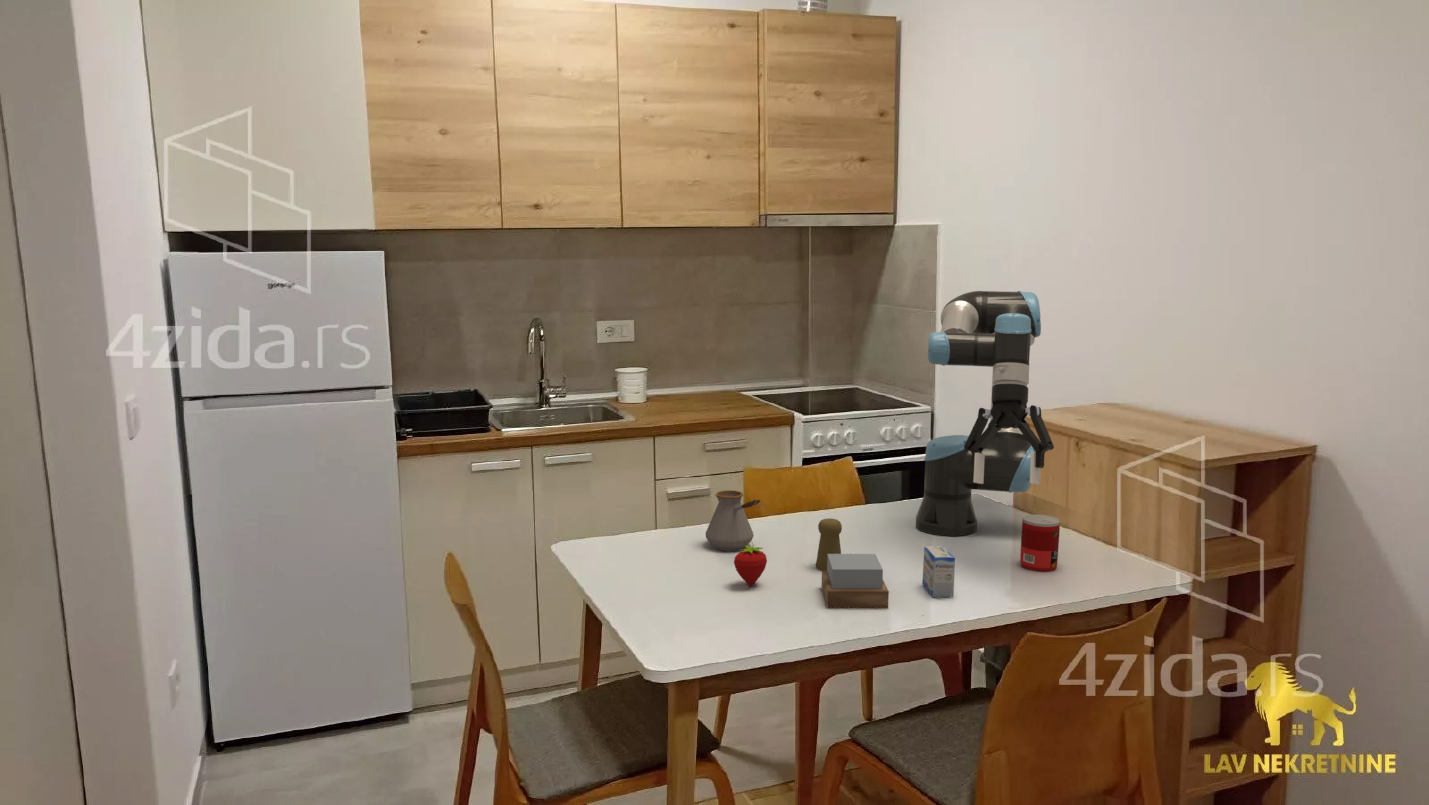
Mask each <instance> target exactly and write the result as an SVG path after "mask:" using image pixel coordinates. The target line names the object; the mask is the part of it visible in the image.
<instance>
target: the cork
mask: <svg viewBox="0 0 1429 805" xmlns="http://www.w3.org/2000/svg"><path fill="white" fill-rule="evenodd" d="M817 526H818V527H817V529H818V532H819V533H820V537H819V542H818V549H817V555H816V556H817V557H816V561H815V562H816V563H815V569H817V570H819V571H821V572H822V571H827V554H842V549H841V548H842V547H841V539H840V534H841V532H842V530H843V529H842V528H843V525H842V523H841V521H839V519H836V518H823V519H821V520H819V522H818V525H817Z"/></svg>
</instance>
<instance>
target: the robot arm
mask: <svg viewBox="0 0 1429 805" xmlns="http://www.w3.org/2000/svg"><path fill="white" fill-rule="evenodd" d="M1039 301H1040V300H1039V298H1038V295H1036V293H1034V292H1028V291H1021V290H1017V291H993V290H991V291H990V290H988V291H986V290H975V291H969V292H965V293H963V294H960V295H958V296H956V297H954V298H952V299H951V300H950V301H948V302H947V303H946V304H945V306H943V308H942V311H941V313H940V324H941V329H940V330H941V331H934V332H931V333H930V334H929V336H928V348H927V350H928V351H927V359H928V363H929V364H931V365H937V366H938V365H940V366H942V367H943V366H944V367H945V366H961V367H962V366H964V367H965V366H967V367H985V368H986V367H990V368H992V374H991V375H992V377H991V398H990V400H991V401H990V408H983V407H980V408H979V409H978V411H977V412H978V413H977V418H976V420H975V422H974V424H973V426H972V429H971V431H970V433H969V435H965V434H964V435H963V434H955V435H951V434H950V435H944V436H939V437H936V438H932V439H931V440H930V441H928V442H927V444H926V448H925V456H924V461H925V463H924V464H925V465H924V486H923V489H924V490H923V498H922V500H921V503H920V505H919V509H918V511H917V514H916V516H915V527H916V528H917V529H918V530H919V531H922V532H925V533H928V534H932V535H938V536H947V537H948V536H950V537H953V536H954V537H958V536H960V537H961V536H967V535H972V534H974V533H976V532H977V530H978V519H977V516H976V513H975V509H974V508H975V507H974V504H973V502H972V490H978V491H990V492H991V491H993V492H994V491H995V492H1004V493H1005V492H1006V493H1007V492H1008V493H1009V494H1010V493H1026V492H1028V491H1030V488H1031V486H1032V484H1033V485H1041V469H1044V467H1045V454H1046V452H1048V451H1052V450H1054V448H1055V446H1054V443H1053V440H1052V438H1051V437H1050V434H1049V431H1048V428H1047V426H1046V424H1045V422H1044V420H1043V417H1042V409H1041V407H1040V406H1037V405H1033V404H1031V405H1030V406H1029V407H1028V402H1029V387H1028V385H1029V384H1030V354H1031V346H1032V345H1034V343H1035V341H1036V340H1035V338H1037V337H1040V336H1041V333H1042V331H1041V330H1042V324H1041V322H1042V320H1041V309H1040V302H1039ZM1027 416H1029V417H1030V420H1031V422H1032V425H1033V427H1034V429H1035V431H1036V434H1037V435H1036V434H1035V432H1034V431H1033V430H1032V428H1031V426H1030V425H1029V423H1028V422H1027V420H1026V418H1027ZM989 420H990V421H989ZM988 422H989V423H988ZM986 426H987V427H986Z"/></svg>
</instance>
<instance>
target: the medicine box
mask: <svg viewBox="0 0 1429 805" xmlns="http://www.w3.org/2000/svg"><path fill="white" fill-rule="evenodd" d="M922 564H923V565H922V584H921V585H922V586H923V587H924V588H925V590H927V591H928V593H929V594H930V595H931V597H933V598H938V597H939V598H953V597H954V594H955V592H954V591H955V572H956V570H955V569H956V557H954V555H952V553H950V551H949V550H948V549H947V548H946V547H945V546H944V545H926V546H924V549H923V563H922Z"/></svg>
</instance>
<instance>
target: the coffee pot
mask: <svg viewBox="0 0 1429 805" xmlns="http://www.w3.org/2000/svg"><path fill="white" fill-rule="evenodd" d="M743 496H744V493H743V492H742V491H739V490H720V491H717V492H716V494H715V497H716V498H717V501H718V503H717V505H716V508H715V511H714V512H713V515H712V517H711V520H710V522H709V524H708V527H707V528H706V530H705V538H706V540H707V542H708V543H710V545H711V546H714V547H715V549H716V550H720V551H727V552H728V551H729V552H731V551H739V550H741V549H746V545H747V546H748V545H749V544H750V543H752V542H751V541H752V540H753V538H754V532H753V529H752V527H751V524H750V522H749V519H748V517H747V515H746V513H745V510H744V509H747V508H751V507H753V506H754V507H755V509H758V510H760V509H762V507H764V505H765V504H764V502H763V501H762V500H760V499H753V500H752V501H751V500H750V501H747V502H745V503H743V504H742V503H741V500H742V497H743ZM759 503H761V504H762V507H760V508H759V507H756V505H759ZM750 540H751V541H750ZM714 547H713V548H714Z"/></svg>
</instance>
